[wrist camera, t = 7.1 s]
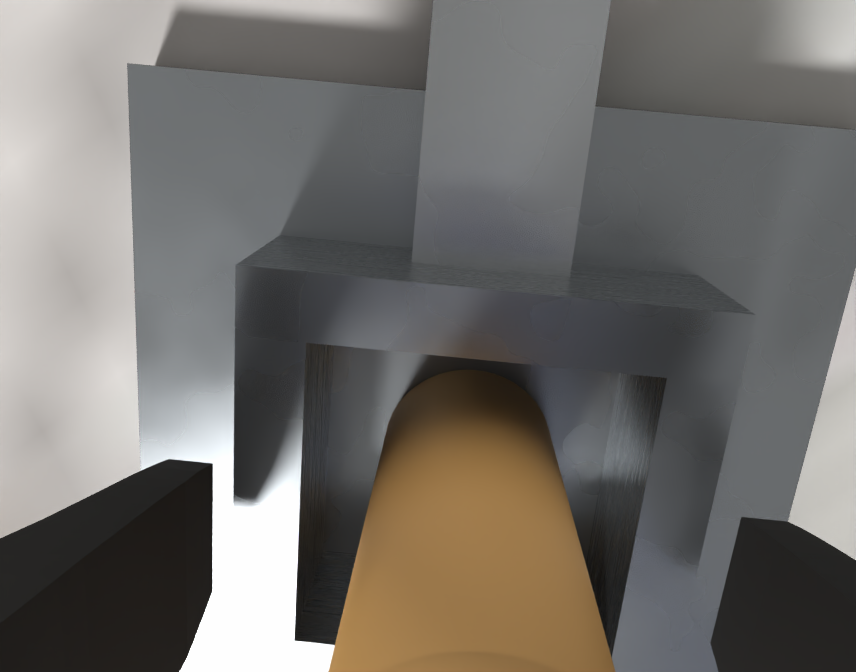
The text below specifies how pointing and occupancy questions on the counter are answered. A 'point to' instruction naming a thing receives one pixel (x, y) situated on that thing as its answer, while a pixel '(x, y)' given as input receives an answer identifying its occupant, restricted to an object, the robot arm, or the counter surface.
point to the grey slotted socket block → (480, 312)
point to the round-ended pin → (469, 543)
